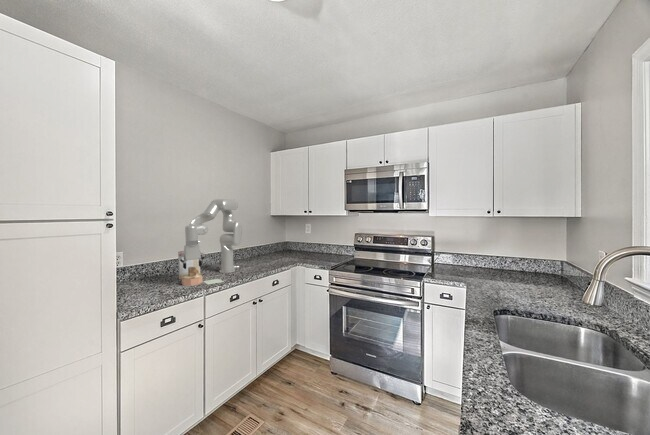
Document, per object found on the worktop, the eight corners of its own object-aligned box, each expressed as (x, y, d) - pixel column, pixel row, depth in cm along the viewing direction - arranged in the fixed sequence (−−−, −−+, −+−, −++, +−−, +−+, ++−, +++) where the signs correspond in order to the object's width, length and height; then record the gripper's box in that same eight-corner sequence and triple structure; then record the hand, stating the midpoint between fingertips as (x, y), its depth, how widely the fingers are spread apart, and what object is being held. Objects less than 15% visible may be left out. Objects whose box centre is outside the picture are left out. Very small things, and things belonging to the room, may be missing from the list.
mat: (218, 279, 198) (218, 278, 198) (224, 282, 190) (224, 281, 189) (202, 282, 190) (202, 281, 190) (207, 285, 182) (207, 284, 182)
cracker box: (198, 276, 208) (198, 249, 207) (200, 277, 203) (200, 250, 203) (178, 279, 199) (178, 251, 199) (180, 280, 195) (179, 252, 194)
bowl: (198, 280, 194) (198, 273, 194) (204, 284, 185) (203, 276, 185) (180, 283, 186) (180, 276, 186) (185, 287, 177) (185, 279, 177)
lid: (198, 273, 194) (198, 265, 194) (204, 277, 185) (203, 267, 185) (180, 276, 186) (180, 267, 186) (185, 279, 177) (184, 270, 177)
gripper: (203, 241, 194) (203, 264, 195) (176, 243, 182) (177, 268, 183) (206, 242, 188) (207, 266, 189) (179, 245, 177) (180, 270, 178)
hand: (192, 267), depth 186 cm, fingers open, 9 cm apart
